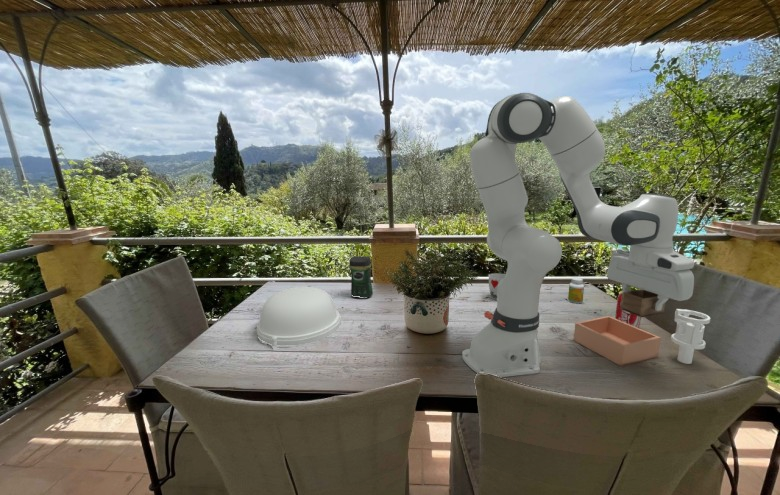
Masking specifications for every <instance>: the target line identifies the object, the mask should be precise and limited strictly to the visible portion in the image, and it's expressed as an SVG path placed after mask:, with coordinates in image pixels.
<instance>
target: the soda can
mask: <svg viewBox="0 0 780 495" xmlns="http://www.w3.org/2000/svg"><path fill="white" fill-rule="evenodd" d="M622 292H624V291H623V290H620V293H619V294H618V296H617V300H616V308H615V314H614V315H615V317H614V318H615V319H617V320H620V321H622V322H625V323H627V324H630V325H632V326H634V327H637V328H640V324H641V319H642V317H639V316H637V315H634V314H632V313H629V312H627V311H624V310H621V309H620V306H621V299H622Z"/></svg>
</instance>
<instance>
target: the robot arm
mask: <svg viewBox="0 0 780 495" xmlns="http://www.w3.org/2000/svg"><path fill="white" fill-rule="evenodd" d="M537 139H539V141H540V142H541V143H542V144H543V145H545V148H546V150H547V152H548V154H549V156H550V157H551V158H552V160H553V163H555V166H556V168H557V170H558V173H559V175H560V179H561V183H562V184H563V186H564V189H565V191H566V193H567V195H568V198H569V199H570V201H571V204H572V206H573V207H574V210H575V213H576V218H577V219H576V220H577V226H578V229H579V231H580V233H581V234H582V235H583V236H584V237H586V238H588V239H590V240H591V239H592V240H598V241H601V242H602V241H603V242H607V243H610V244H615V245H619V246H627V247H628V246H629V250H623V249H620V248H618V249H615V250H614V251H612V252H611V255H610V256H611V257H610V262H609V264H608V268H607V274H606V276H607V278H608V280H611V281H614V282H617V283H619V284H620V283H621V289H622V291H624V292H626V291H632V289H631V288H636V289H642V290H645V291H649V292H652V293H655V294H658V297H657V298H658V299H659V300H658V301H657V302H655V303H652V309H654V310H657V311H660V310H661V309H662V305H663V304H664V303H665V304H666V302H667V301H669V299H671V300H675V301H678V302H682V301H687V300H689V299H691V298H692V297H693V295H694V294H693V293H694V287H695V286H694V285H695V276H694V273H693V271H692V269H693V268H694V266H695V261H694V260H692V259H691V258H689V257H686V256H685V255H683V254H680V253H679V252H678V251H676V250H674V249H673V248H674V241H673V237H674V234H675V232H676V231H677V225H678V221H679V220H678V218H679V204H678V201H677V199H676V198H674V196H671V195H667V194H661V193H659V194H658V193H649V192H647V193H646V192H645V193H642V194H640V196H639V197H638V198H637V199H636V200H634V201H632V202H630V203H628V204H625V205H622V206H615V205H609V204H606V203H605V202H603V201H601V200H600V198H599V196H598V194H597V191H596V189H595V187H594V185H593V183H592V181H591V177H590V175H591V172H593V171H594V170H595V169H597V168H598V167H599V165H600V164H601V163H602V161H603V160H604V157H605V155H606V145H605V142H604V139H603V136H602V134H601V132H600V131H599V129H598V128H597V126H596V124H595V123H594V120H593V119H592V118H591V116H590V115H589V113H588V112H587V110H586V109H585V108H584V107H583V106H582V105H581V103H579V101H578V100H577V99H576V98H574V97H573V96H570V95H562V96H561V95H560V96H559V97H558V96H557V97H555V98H553V99H551V100H547V99H544V98H543V97H541V96H539V95H536V94H534V93H530V92H519V93H514V94H511V95H507V96H506V97H504V98H502V99H501V100H499V101H498V102H497V103H495V105H494V106H493V107H492V108H491V110H490V113H489V115H488V118H487V125H486V128H485V135H484V137H483V138H481V139H480V140H477V141H476V142H475V143H474V144H473V146H471V148H470V150H469V161H470V167H471V172H472V176H473V180H474V182H475V183H474V184H475V187H476V189H477V191H478V194H479V197H480V200H481V202H482V205H483V209H484V211H485V215H486V220H487V228H488V229H487V230H488V232H487V235H486V244H487V247H488V248H489V250H491V251H492V253H493V254H495V256H496V257H498V258H499V259H501V260H504V261H506V263H507V268H506V272H505V277H504V279H502V280H501V281H500V282H499V284H498V291H497V300H496V308H495V309H494V311H493V313H492V312H490V311H489V310H487V311H485V312H484V314H483V316H484V317H485V318H486V319H488V320H490V322H489V323H488V324H486V325H485V326H484V327H483V328H482V329H481V330H479V332H477V333H476V334H475V335H473V336H472V339H471V342H470V347H469V348H467V349H464V350H462V353H461V357H462V360H463V361H464V362H465V364H466V365H467V366H468V367H469V368H470V369H471V370H473V371H474V372H475V373H477V374H478V372H484V373H490V374H494V375H497V376H500V377H499V378H506V377H514V376H525V375H534V374H539V373H540V371H541V368H540V364H541V363H542V357H541V354H540V349H539V336H538V328H539V326H540V312H539V303H540V292H541V288H542V284H543V282H544V279H545V278H546V275H547V274H548V273H549V272H550V271H552V270H553V269H554V268H556V267H557V265H559V263H560V261H561V258H562V254H563V248H562V245H561V242H560V241H559V240H558V238H556V237H555V236H553V235H552V234H550V233H549V232H547V231H546V230H543V229H541V228H536V227H532V226H529V225H528V223H527V222H526V218H525V217H526V216H525V208H526V207H527V205H528V202H529V197H528V193H527V191H526V187H525V185H524V181H523V178H522V175H521V171H520V169H519V166H518V164H517V160H516V148H517V146H518V144H525V143H528V142H532V141H534V140H537ZM690 269H691V270H690Z"/></svg>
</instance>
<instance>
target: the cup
mask: <svg viewBox="0 0 780 495" xmlns="http://www.w3.org/2000/svg"><path fill="white" fill-rule="evenodd" d="M505 275H506V273H505V274H504V273H496V272H495V273H489V274H488V287H489V293H490V298H491V299H492V300H494V301H497V291H498V284H499V282H500V281H501V280H502V279H504V277H505Z"/></svg>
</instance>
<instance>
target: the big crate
mask: <svg viewBox="0 0 780 495" xmlns="http://www.w3.org/2000/svg"><path fill="white" fill-rule="evenodd" d="M661 338H662V337H661V336H658V335H657V334H653V333H651V332H648V331H646V330H644V329H641V328H640V327H638V328H637V327H634V326H632V325H630V324H627V323H625V322H622V321H620V320H617V319H615V317H612V316H610V315H606V316H602V317H597V318H591V319H587V320H582V321H577V322H575V323H574V335H573V342H576V343H578V344H579V345H582V346H584V347H585V348H587V349H589V350H591V351H593V352H594V353H596V354H598V355H600V356H601V357H604V358H605V359H608V360H609V361H612V362H613V363H615V364H616V365H618V366H620V367H626V366H630V365H633V364H636V363H640V362H643V361H647V360H651V359H653V358H658V357H659V352H660V345H661Z"/></svg>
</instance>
